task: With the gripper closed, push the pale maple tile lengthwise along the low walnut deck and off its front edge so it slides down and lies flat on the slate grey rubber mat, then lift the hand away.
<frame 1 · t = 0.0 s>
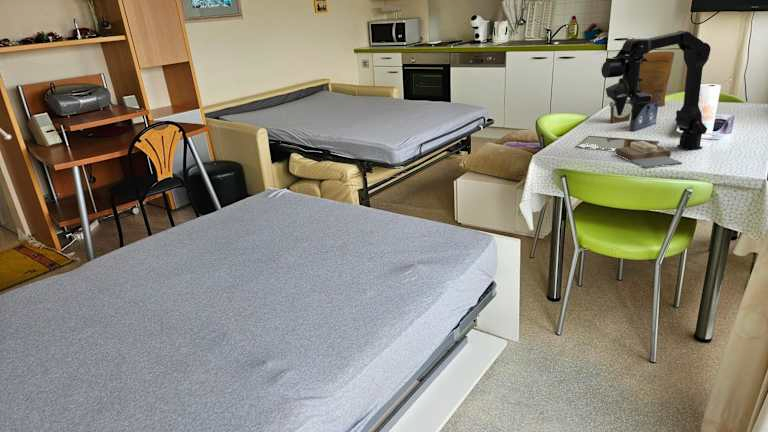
hand: (626, 117, 193), 15 cm above the table, tool pointing down, fingers open, 9 cm apart
maple tile: (643, 149, 196), point 2 cm above the table, touching walnut deck
rubber mat: (655, 162, 188), on the table
walnut deck: (642, 155, 197), on the table
food container: (616, 121, 250), on the table
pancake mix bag: (647, 106, 277), on the table
rectangular mirror: (616, 146, 213), on the table
vhs cassette tape: (642, 128, 236), on the table
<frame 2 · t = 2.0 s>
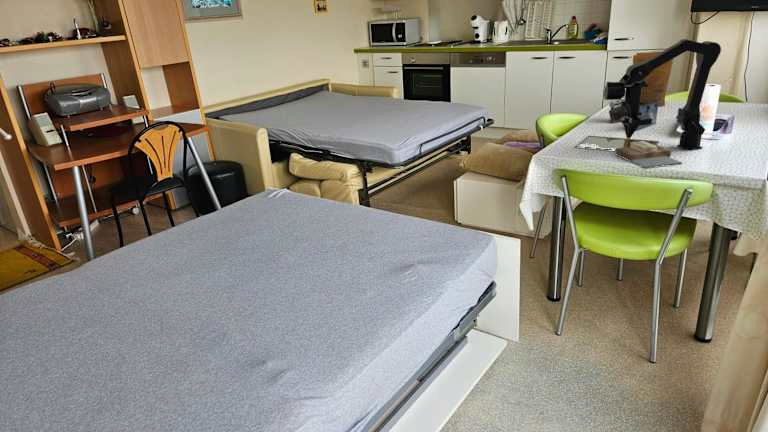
hand: (628, 138, 204), 4 cm above the table, tool pointing down, fingers closed
nothing on the table moved.
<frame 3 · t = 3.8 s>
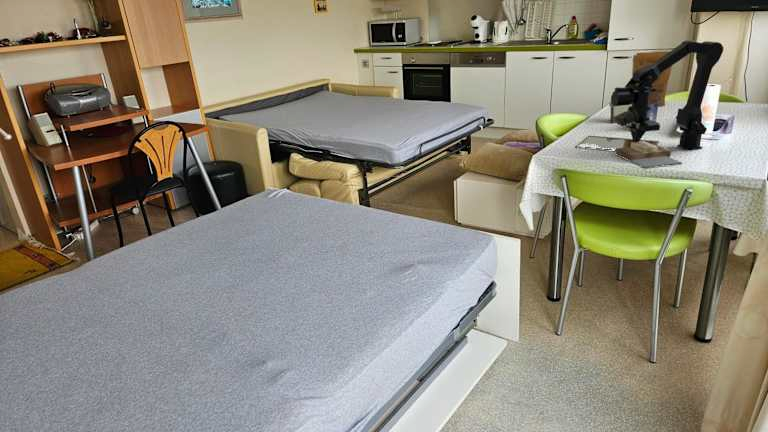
hand: (635, 144, 200), 3 cm above the table, tool pointing down, fingers closed
maple tile: (643, 149, 195), point 3 cm above the table, touching gripper, walnut deck
everything else where it was.
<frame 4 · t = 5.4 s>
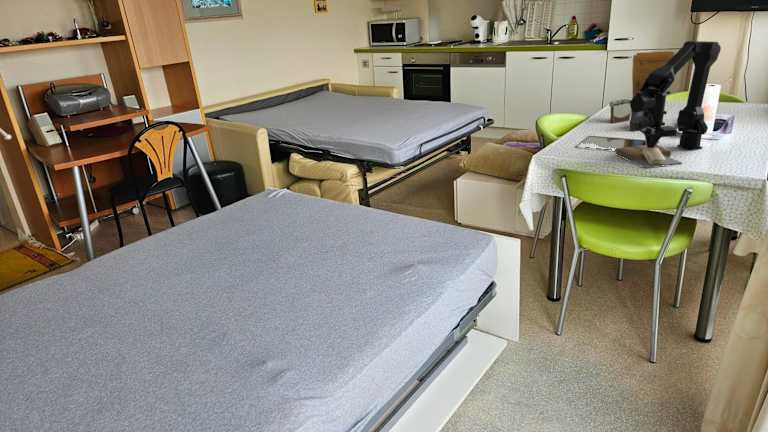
hand: (650, 149, 192), 3 cm above the table, tool pointing down, fingers closed
maple tile: (653, 158, 188), point 2 cm above the table, tilted 12°, touching gripper
everything else where it was.
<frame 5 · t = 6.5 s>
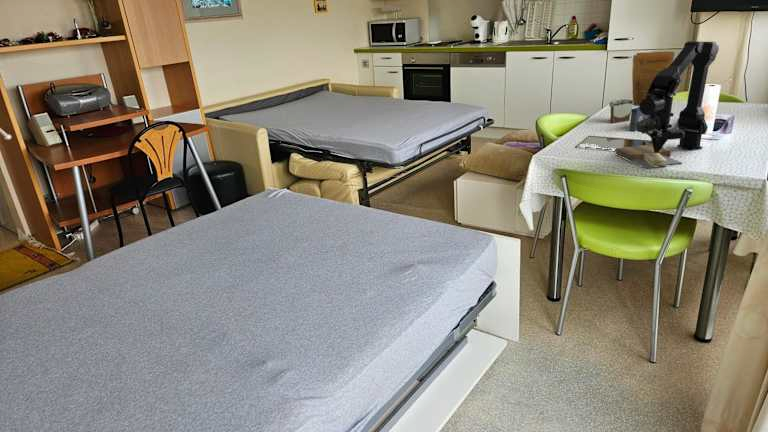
hand: (656, 152, 188), 3 cm above the table, tool pointing down, fingers closed
maple tile: (654, 162, 187), point 1 cm above the table, touching rubber mat
everything else where it was.
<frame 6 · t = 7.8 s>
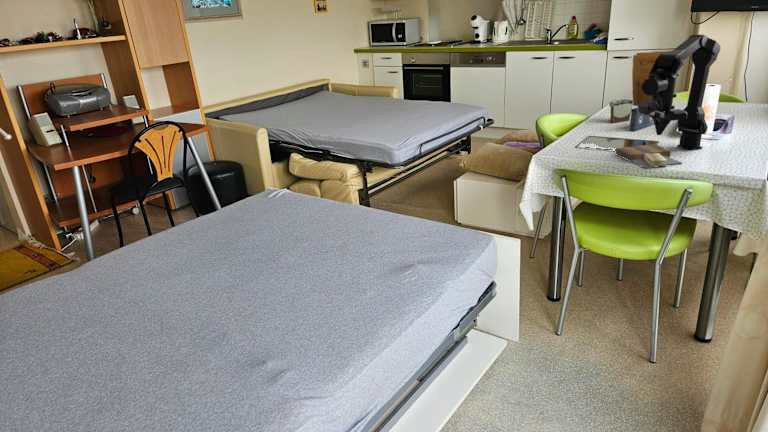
hand: (658, 134, 186), 10 cm above the table, tool pointing down, fingers closed
nothing on the table moved.
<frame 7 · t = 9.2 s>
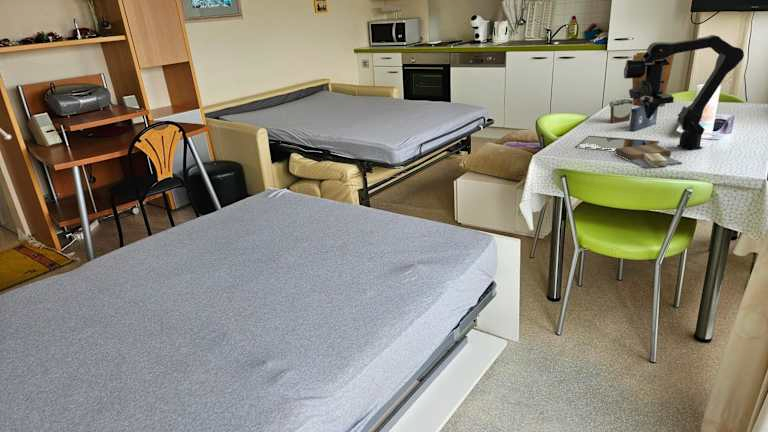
hand: (648, 118, 201), 12 cm above the table, tool pointing down, fingers closed
nothing on the table moved.
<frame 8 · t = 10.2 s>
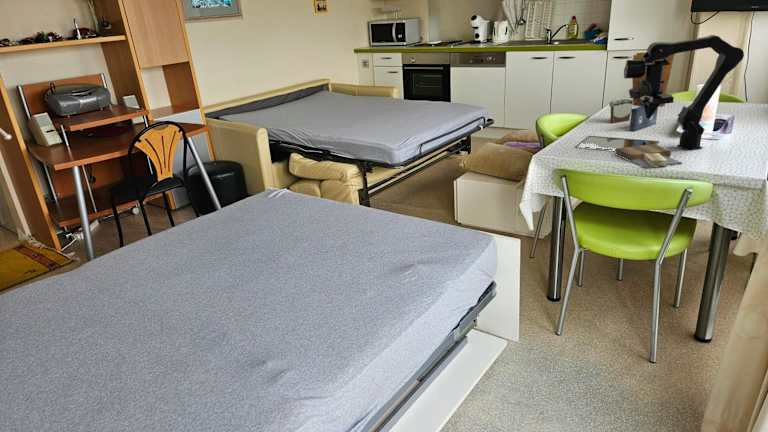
hand: (648, 118, 201), 12 cm above the table, tool pointing down, fingers closed
nothing on the table moved.
at the end: maple tile point 0.6 cm above the table; maple tile inside the target area on the rubber mat (1.3 cm from its centre), point 0.6 cm above the rubber mat's base; maple tile tilted 0° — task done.
